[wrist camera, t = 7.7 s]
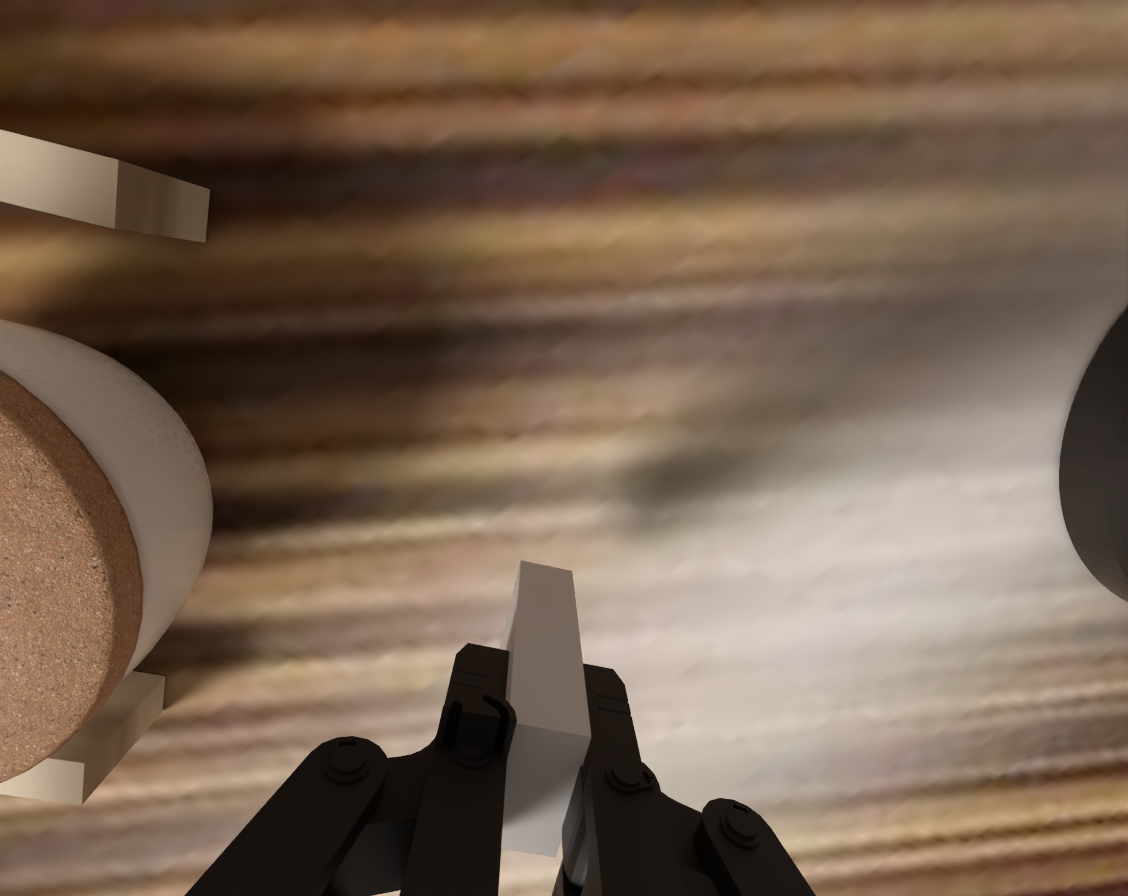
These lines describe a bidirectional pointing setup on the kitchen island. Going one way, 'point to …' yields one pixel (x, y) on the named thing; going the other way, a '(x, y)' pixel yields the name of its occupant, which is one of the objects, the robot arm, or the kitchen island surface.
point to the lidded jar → (85, 534)
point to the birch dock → (128, 204)
